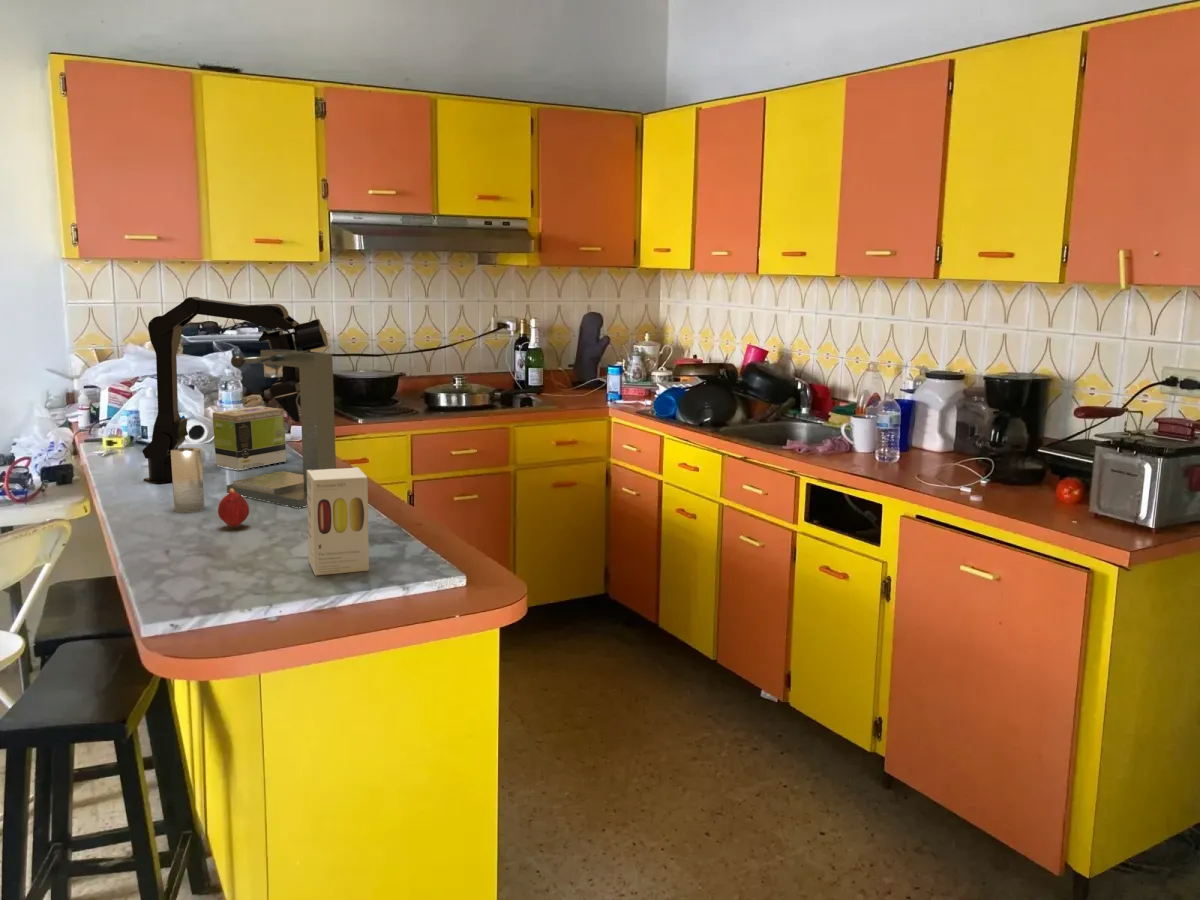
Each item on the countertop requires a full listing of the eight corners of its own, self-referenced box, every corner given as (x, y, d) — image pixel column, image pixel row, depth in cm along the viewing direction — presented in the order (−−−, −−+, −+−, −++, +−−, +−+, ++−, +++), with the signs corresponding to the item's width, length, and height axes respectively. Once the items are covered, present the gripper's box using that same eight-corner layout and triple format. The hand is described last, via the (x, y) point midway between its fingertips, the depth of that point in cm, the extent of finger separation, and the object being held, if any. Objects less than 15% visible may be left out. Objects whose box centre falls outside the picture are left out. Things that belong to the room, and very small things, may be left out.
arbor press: (204, 498, 220) (196, 351, 214) (283, 481, 238) (277, 345, 232) (278, 514, 207) (271, 358, 201) (355, 495, 226) (350, 352, 220)
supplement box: (314, 576, 167) (310, 479, 164) (307, 561, 175) (303, 469, 172) (371, 570, 170) (368, 476, 167) (361, 556, 179) (359, 465, 176)
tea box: (264, 458, 267) (261, 404, 264) (287, 463, 261) (285, 408, 258) (214, 467, 255) (211, 410, 252) (237, 472, 249) (234, 414, 246)
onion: (256, 526, 198) (254, 487, 196) (234, 532, 193) (232, 493, 191) (234, 522, 200) (232, 484, 199) (212, 529, 195) (210, 490, 194)
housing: (168, 510, 209) (164, 449, 207) (193, 505, 214) (189, 445, 212) (186, 514, 206) (182, 453, 204) (210, 508, 211) (207, 448, 209)
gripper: (307, 352, 226) (325, 418, 229) (327, 344, 244) (344, 405, 247) (260, 363, 226) (279, 428, 229) (284, 354, 244) (301, 415, 247)
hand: (303, 418), depth 238 cm, fingers open, 9 cm apart
